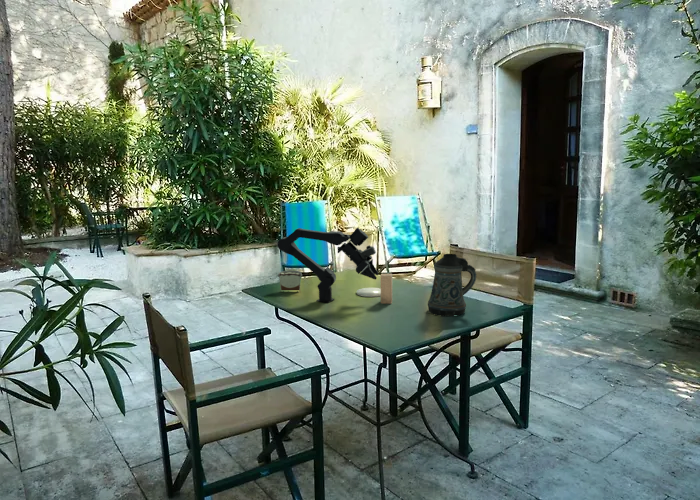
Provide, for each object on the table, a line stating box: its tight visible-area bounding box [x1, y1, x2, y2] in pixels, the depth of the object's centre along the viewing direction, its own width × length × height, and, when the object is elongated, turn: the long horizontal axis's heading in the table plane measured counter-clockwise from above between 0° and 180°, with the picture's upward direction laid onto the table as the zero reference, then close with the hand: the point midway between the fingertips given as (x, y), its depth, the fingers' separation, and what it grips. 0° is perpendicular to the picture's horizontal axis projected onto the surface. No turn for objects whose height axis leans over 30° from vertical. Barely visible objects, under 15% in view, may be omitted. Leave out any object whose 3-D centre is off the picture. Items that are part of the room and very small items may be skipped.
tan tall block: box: [380, 273, 393, 305], centre depth 256 cm, size 5×5×13 cm
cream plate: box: [356, 287, 381, 298], centre depth 274 cm, size 14×14×1 cm
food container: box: [277, 270, 303, 291], centre depth 281 cm, size 12×6×10 cm, turn 84°
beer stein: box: [427, 253, 477, 317], centre depth 239 cm, size 16×19×25 cm
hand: (377, 276), depth 256 cm, fingers open, 9 cm apart
